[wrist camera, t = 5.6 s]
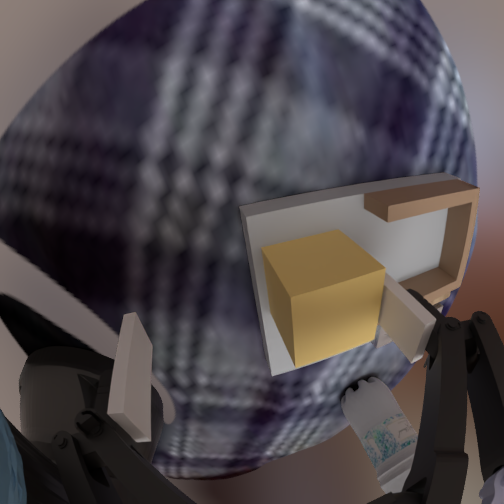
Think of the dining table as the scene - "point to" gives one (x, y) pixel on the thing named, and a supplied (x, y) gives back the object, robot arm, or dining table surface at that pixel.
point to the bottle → (381, 431)
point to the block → (323, 294)
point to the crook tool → (384, 338)
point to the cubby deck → (370, 236)
